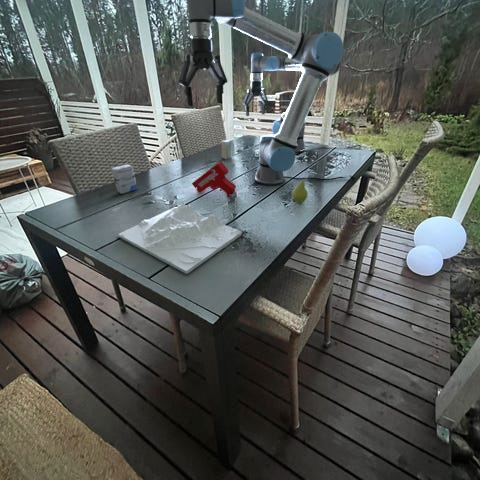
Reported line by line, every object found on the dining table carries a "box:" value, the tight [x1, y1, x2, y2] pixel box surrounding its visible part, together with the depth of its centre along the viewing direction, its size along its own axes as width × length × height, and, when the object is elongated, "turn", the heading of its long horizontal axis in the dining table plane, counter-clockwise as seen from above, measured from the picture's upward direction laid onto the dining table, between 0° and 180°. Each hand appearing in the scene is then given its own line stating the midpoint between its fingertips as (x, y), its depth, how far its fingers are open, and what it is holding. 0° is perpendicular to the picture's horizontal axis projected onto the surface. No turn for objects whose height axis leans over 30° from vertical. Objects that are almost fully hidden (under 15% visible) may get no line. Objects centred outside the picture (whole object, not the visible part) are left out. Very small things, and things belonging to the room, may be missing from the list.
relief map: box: [117, 202, 243, 275], centre depth 96 cm, size 27×35×5 cm
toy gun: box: [191, 161, 237, 197], centre depth 128 cm, size 18×4×15 cm
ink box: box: [110, 164, 138, 195], centre depth 131 cm, size 8×5×12 cm, turn 135°
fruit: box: [291, 174, 311, 204], centre depth 118 cm, size 7×8×12 cm
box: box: [221, 139, 232, 160], centre depth 177 cm, size 5×4×11 cm
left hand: (205, 104), depth 109 cm, fingers open, 13 cm apart
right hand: (255, 115), depth 194 cm, fingers open, 13 cm apart
